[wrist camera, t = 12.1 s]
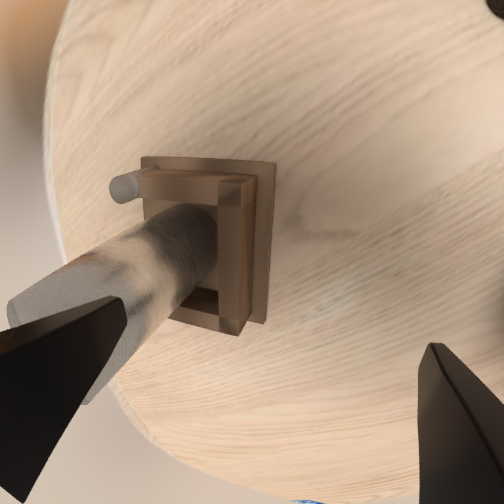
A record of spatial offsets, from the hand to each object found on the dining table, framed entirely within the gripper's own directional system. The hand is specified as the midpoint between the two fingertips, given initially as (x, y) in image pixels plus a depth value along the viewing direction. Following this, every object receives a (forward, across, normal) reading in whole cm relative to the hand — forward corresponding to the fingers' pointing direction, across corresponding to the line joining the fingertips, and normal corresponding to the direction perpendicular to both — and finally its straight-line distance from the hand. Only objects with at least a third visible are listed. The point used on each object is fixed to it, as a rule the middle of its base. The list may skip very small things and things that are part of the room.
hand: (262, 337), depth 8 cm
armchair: (+13, +8, +3) cm, 16 cm away
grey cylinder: (+13, +9, +3) cm, 16 cm away
